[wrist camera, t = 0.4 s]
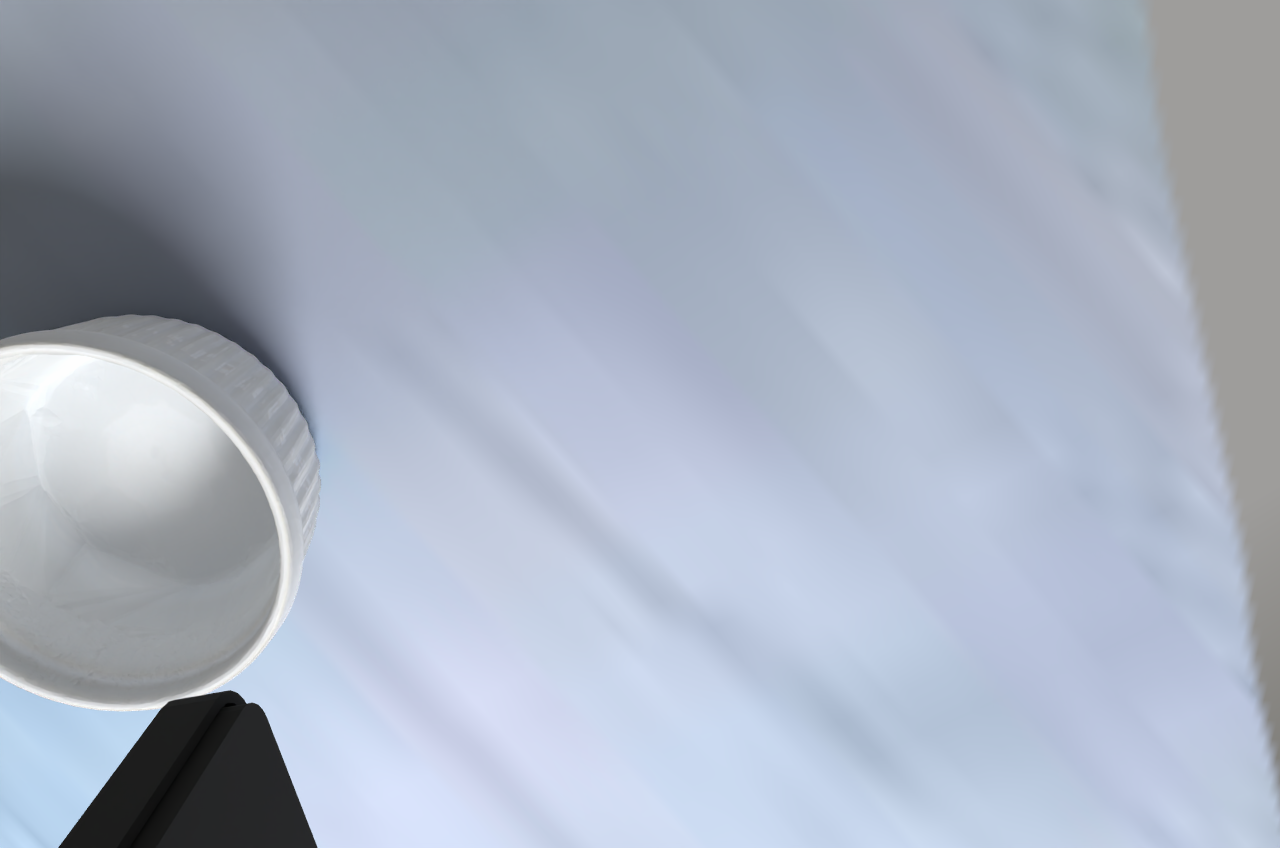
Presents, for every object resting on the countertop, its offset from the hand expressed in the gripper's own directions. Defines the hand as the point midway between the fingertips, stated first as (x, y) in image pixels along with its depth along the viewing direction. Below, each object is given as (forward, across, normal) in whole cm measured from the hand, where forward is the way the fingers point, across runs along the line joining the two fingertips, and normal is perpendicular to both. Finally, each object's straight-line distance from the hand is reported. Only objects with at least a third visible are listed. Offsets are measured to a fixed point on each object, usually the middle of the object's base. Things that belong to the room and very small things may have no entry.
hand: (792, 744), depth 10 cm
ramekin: (+31, +22, +6) cm, 38 cm away
